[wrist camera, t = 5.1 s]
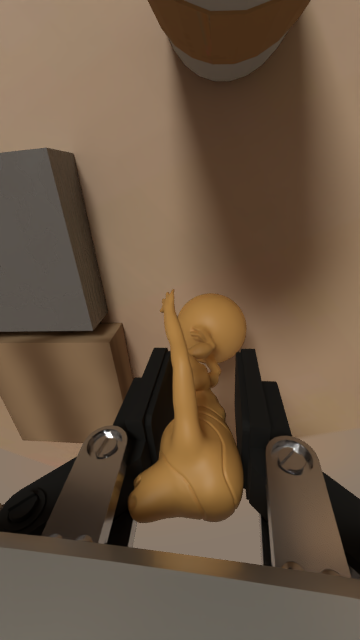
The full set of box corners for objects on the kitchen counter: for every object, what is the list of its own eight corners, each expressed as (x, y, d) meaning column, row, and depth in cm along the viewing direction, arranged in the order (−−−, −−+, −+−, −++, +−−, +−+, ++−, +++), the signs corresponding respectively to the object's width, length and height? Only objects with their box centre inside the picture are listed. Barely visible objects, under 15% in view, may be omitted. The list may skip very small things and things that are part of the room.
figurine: (178, 253, 16) (-30, 365, 7) (283, 235, 13) (173, 394, 4) (205, 366, 19) (87, 553, 10) (295, 373, 16) (250, 650, 7)
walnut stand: (121, 323, 22) (109, 342, 19) (140, 419, 27) (132, 445, 24) (1, 325, 23) (-26, 343, 21) (40, 416, 28) (22, 440, 26)
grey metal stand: (73, 153, 17) (46, 147, 14) (107, 312, 22) (93, 330, 19) (-79, 169, 18) (-129, 167, 15) (-14, 315, 23) (-43, 332, 20)
